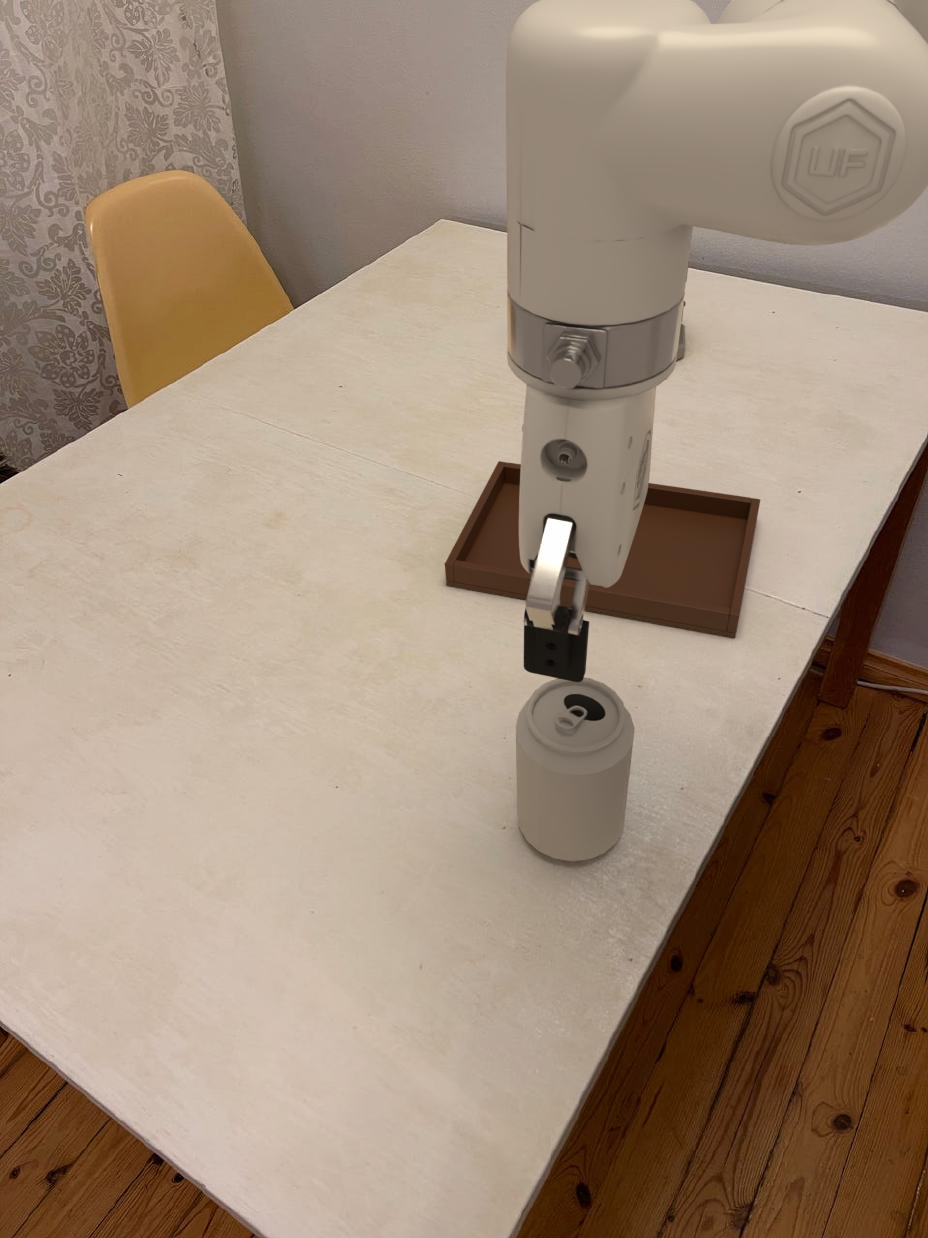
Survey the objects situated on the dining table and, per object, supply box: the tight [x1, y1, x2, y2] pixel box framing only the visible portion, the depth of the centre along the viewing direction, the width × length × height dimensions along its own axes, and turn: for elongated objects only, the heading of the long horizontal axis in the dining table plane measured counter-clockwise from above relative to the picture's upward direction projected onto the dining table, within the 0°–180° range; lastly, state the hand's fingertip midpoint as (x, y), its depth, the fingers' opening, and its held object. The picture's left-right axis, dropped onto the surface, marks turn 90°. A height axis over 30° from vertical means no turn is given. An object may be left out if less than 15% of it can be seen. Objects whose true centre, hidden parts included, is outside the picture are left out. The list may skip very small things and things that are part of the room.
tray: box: [444, 460, 761, 639], centre depth 89 cm, size 26×17×3 cm, turn 72°
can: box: [515, 677, 636, 862], centre depth 64 cm, size 8×8×12 cm
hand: (575, 612), depth 54 cm, fingers open, 9 cm apart
